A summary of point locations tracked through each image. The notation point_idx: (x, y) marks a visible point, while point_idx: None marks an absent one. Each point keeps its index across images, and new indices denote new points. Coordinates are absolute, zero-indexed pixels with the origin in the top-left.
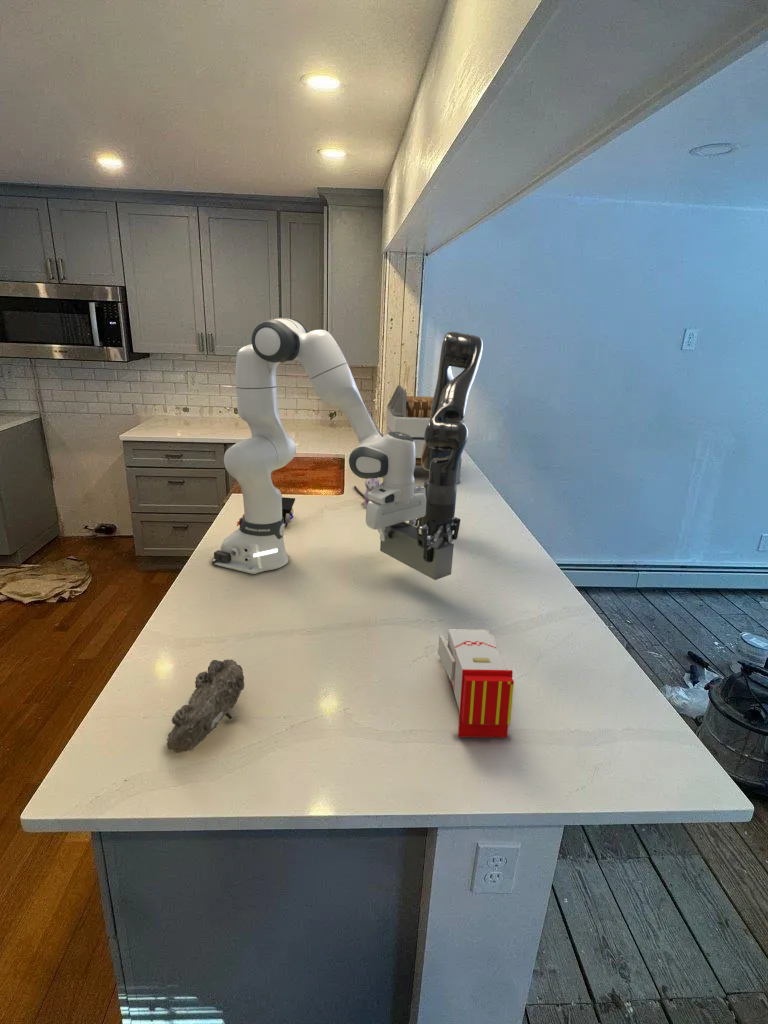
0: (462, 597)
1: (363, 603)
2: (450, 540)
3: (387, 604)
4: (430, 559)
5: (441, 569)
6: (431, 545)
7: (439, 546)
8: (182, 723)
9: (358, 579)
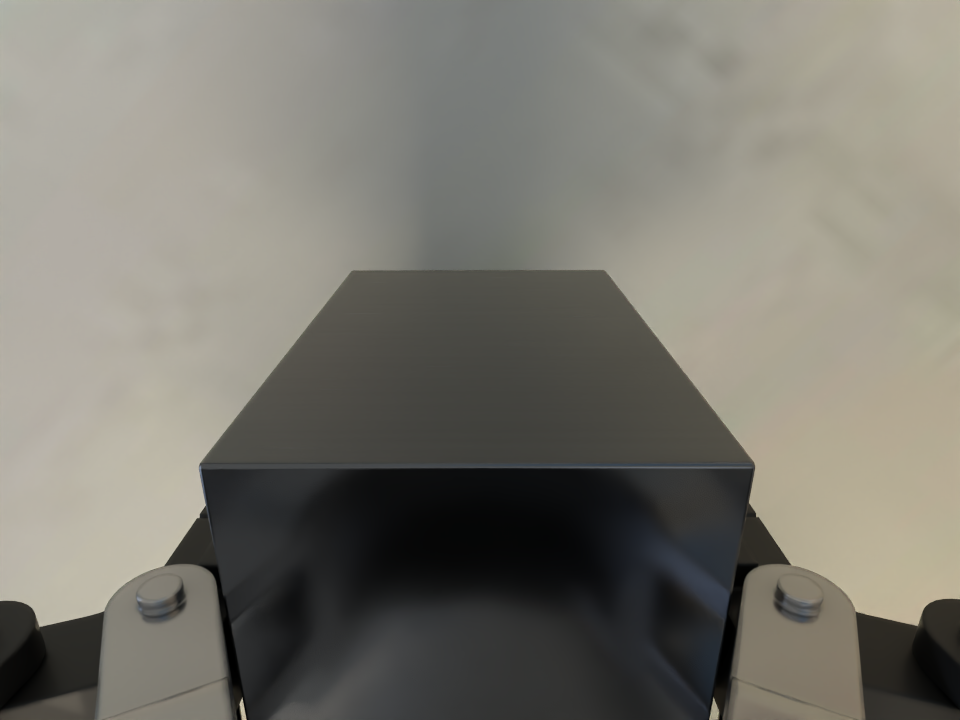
0: (254, 201)
1: (864, 513)
2: (162, 619)
3: (765, 427)
4: None
5: (524, 301)
6: (796, 637)
7: (590, 548)
8: None
9: None
